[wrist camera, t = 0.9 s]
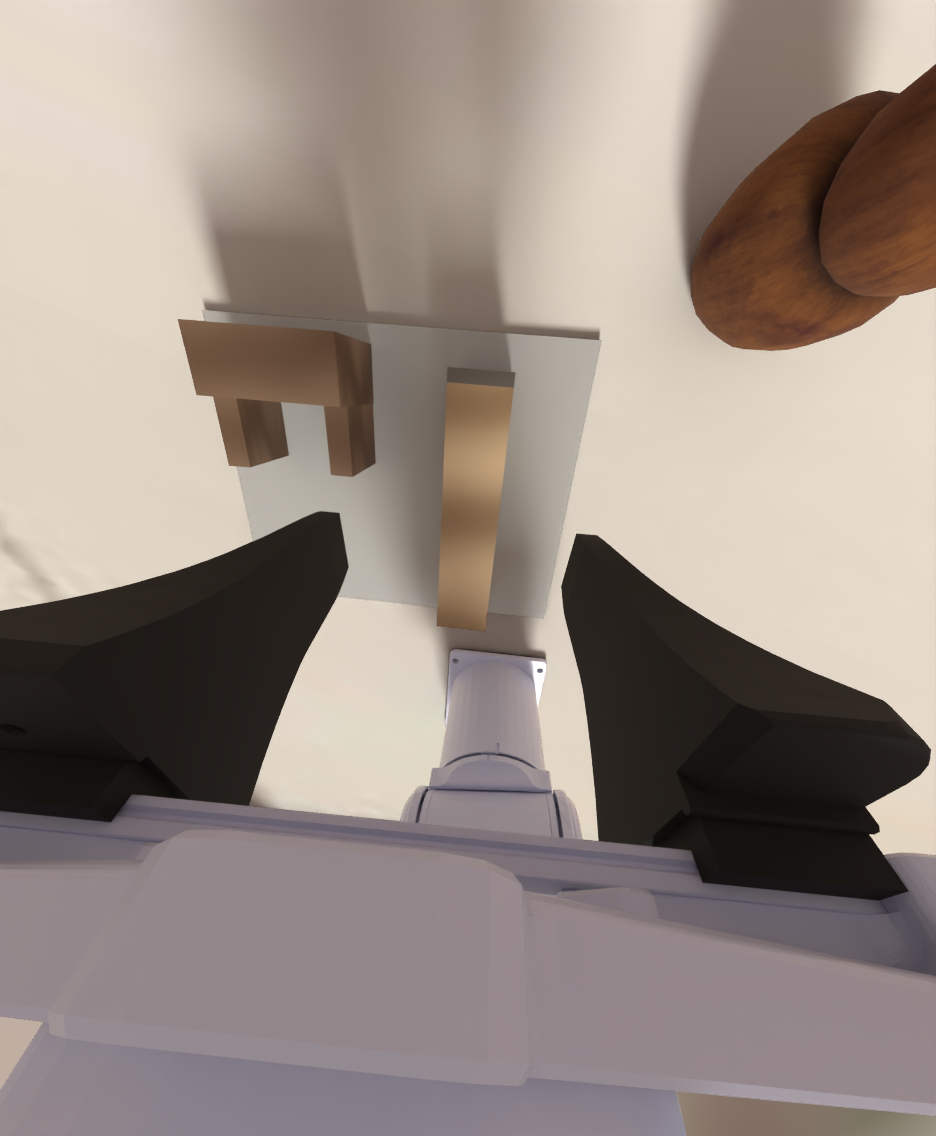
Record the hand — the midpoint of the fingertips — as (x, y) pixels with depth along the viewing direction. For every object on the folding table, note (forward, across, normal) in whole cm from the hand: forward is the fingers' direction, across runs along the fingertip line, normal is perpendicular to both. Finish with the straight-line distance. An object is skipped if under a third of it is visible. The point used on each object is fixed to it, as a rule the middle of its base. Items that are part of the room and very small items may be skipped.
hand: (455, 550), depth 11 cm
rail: (+12, 0, +4) cm, 13 cm away
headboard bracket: (+13, +10, -1) cm, 16 cm away
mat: (+13, +5, +4) cm, 14 cm away
